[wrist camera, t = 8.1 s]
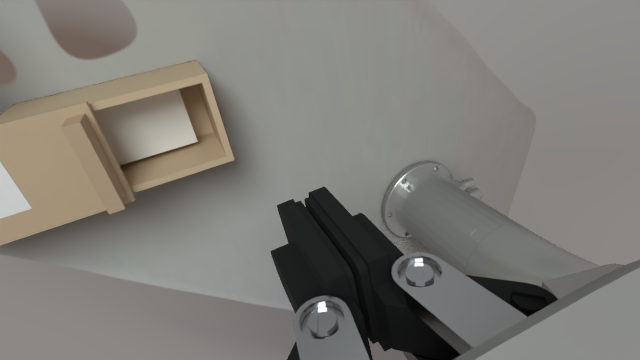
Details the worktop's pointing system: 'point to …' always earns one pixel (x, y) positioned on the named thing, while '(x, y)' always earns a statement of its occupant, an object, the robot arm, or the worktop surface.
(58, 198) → the lid
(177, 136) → the box
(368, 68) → the worktop surface
